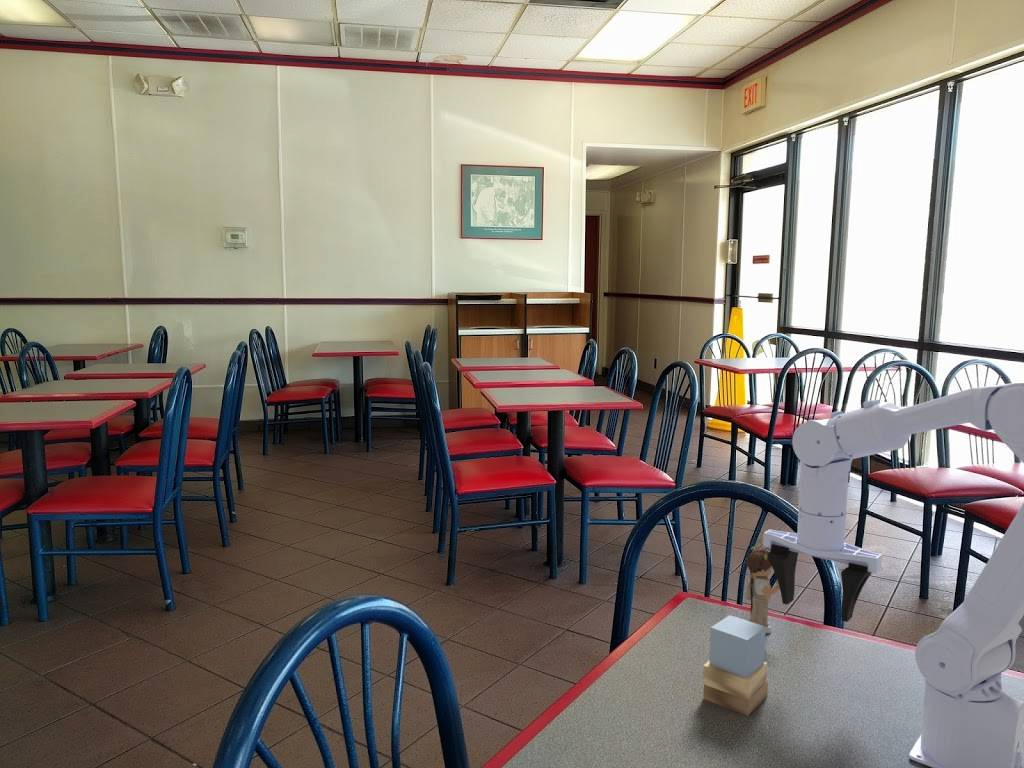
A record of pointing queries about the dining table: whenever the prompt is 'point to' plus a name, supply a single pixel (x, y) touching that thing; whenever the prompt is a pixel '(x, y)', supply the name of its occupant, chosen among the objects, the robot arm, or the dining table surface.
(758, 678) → the upper slab
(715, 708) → the dining table surface
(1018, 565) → the robot arm
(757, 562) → the toy
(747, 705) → the lower slab
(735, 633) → the cube
